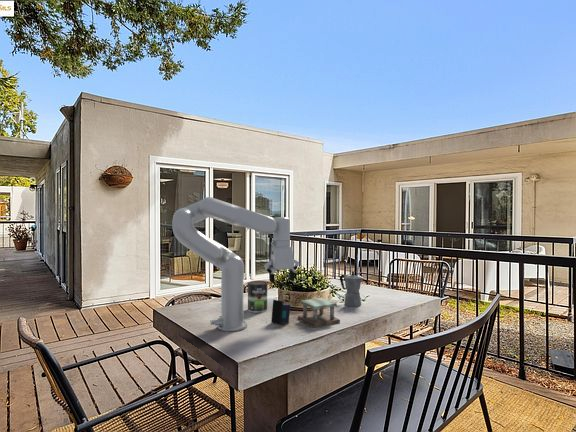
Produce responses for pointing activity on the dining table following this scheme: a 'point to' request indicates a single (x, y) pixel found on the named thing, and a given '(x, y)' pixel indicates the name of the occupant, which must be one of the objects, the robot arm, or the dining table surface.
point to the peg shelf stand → (321, 317)
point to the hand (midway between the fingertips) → (282, 281)
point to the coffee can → (257, 296)
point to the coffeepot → (352, 289)
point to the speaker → (280, 312)
